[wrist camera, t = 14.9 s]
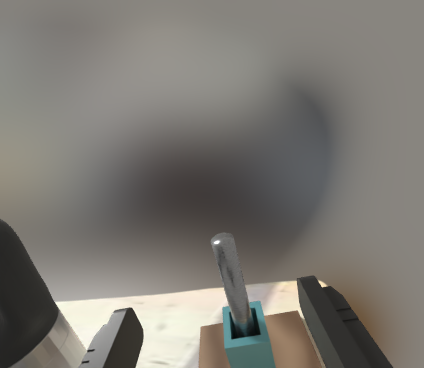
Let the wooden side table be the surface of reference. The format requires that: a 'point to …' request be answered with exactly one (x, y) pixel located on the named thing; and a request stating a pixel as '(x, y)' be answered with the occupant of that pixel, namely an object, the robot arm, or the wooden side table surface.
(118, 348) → the robot arm
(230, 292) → the pipe
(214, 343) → the stand board
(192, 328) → the wooden side table surface
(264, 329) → the sleeve
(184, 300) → the wooden side table surface
